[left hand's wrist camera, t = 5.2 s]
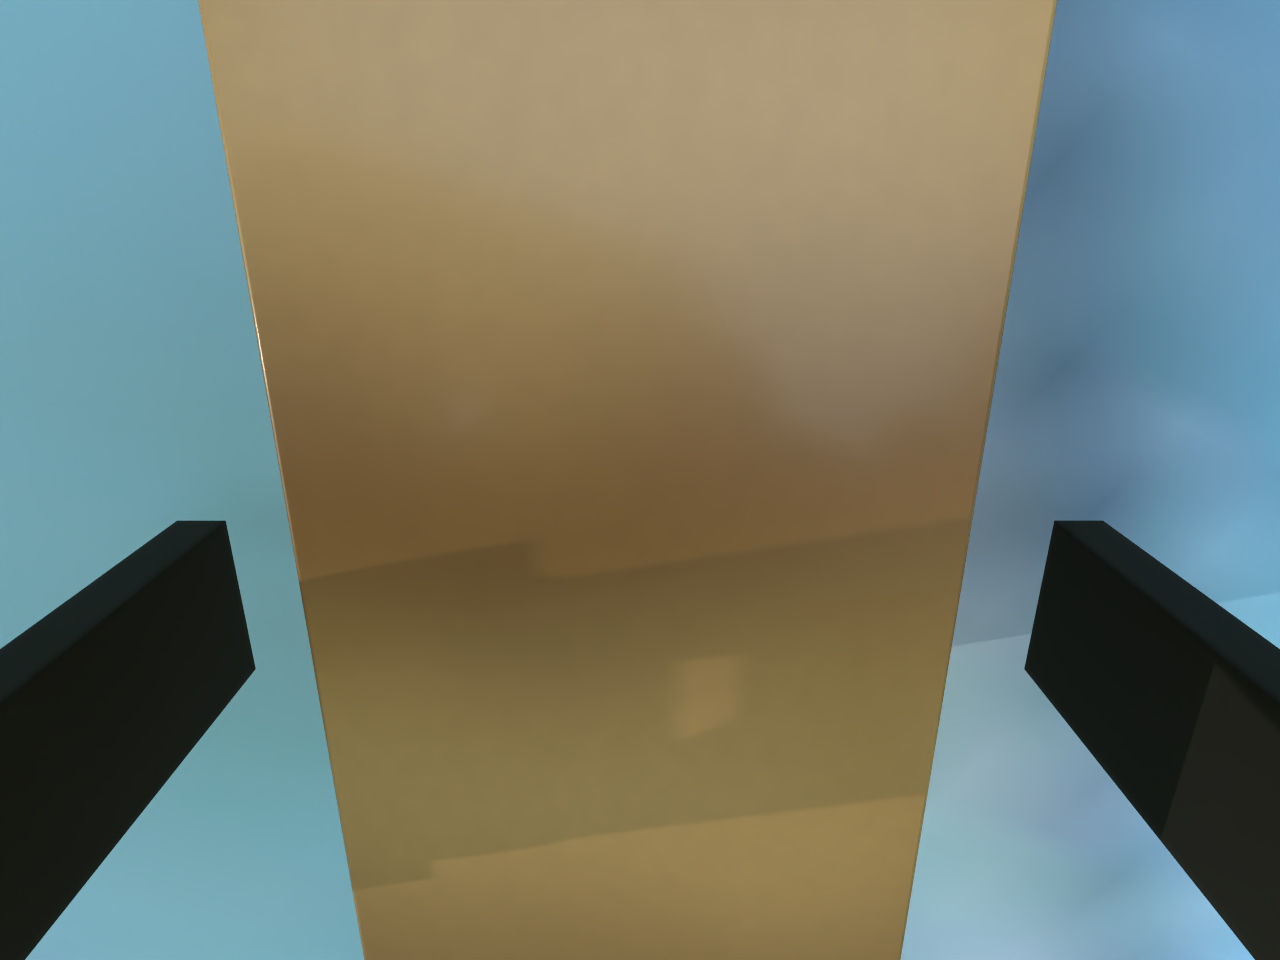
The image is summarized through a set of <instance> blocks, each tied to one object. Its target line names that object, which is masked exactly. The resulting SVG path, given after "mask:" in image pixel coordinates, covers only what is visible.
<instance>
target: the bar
mask: <svg viewBox="0 0 1280 960" xmlns="http://www.w3.org/2000/svg"><path fill="white" fill-rule="evenodd" d="M198 1H199V7H200V12H201V18H202V24H203V30H204V36H205V41H206V47H207V53H208V59H209V64H210V70H211V76H212V82H213V88H214V93H215V99H216V105H217V111H218V116H219V122H220V128H221V134H222V139H223V145H224V151H225V157H226V163H227V168H228V174H229V180H230V186H231V191H232V197H233V203H234V209H235V215H236V220H237V226H238V232H239V238H240V243H241V249H242V255H243V261H244V267H245V272H246V278H247V284H248V290H249V295H250V301H251V307H252V313H253V319H254V324H255V330H256V336H257V342H258V347H259V353H260V359H261V365H262V371H263V376H264V382H265V388H266V394H267V399H268V405H269V411H270V417H271V423H272V428H273V434H274V440H275V446H276V451H277V457H278V463H279V469H280V474H281V480H282V486H283V492H284V498H285V503H286V509H287V515H288V521H289V526H290V532H291V538H292V544H293V550H294V555H295V561H296V567H297V573H298V578H299V584H300V590H301V596H302V602H303V607H304V613H305V619H306V625H307V630H308V636H309V642H310V648H311V654H312V659H313V665H314V671H315V677H316V682H317V688H318V694H319V700H320V706H321V711H322V717H323V723H324V729H325V734H326V740H327V746H328V752H329V758H330V763H331V769H332V775H333V781H334V786H335V792H336V798H337V804H338V810H339V815H340V821H341V827H342V833H343V838H344V844H345V850H346V856H347V861H348V867H349V873H350V879H351V885H352V890H353V896H354V902H355V908H356V913H357V919H358V925H359V931H360V937H361V942H362V948H363V954H364V960H900V958H901V952H902V946H903V940H904V934H905V928H906V921H907V915H908V909H909V903H910V897H911V891H912V885H913V879H914V873H915V866H916V860H917V854H918V848H919V842H920V836H921V830H922V824H923V817H924V811H925V805H926V799H927V793H928V787H929V781H930V775H931V769H932V762H933V756H934V750H935V744H936V738H937V732H938V726H939V720H940V714H941V707H942V701H943V695H944V689H945V683H946V677H947V671H948V665H949V658H950V652H951V646H952V640H953V634H954V628H955V622H956V616H957V610H958V603H959V597H960V591H961V585H962V579H963V573H964V567H965V561H966V555H967V548H968V542H969V536H970V530H971V524H972V518H973V512H974V506H975V499H976V493H977V487H978V481H979V475H980V469H981V463H982V457H983V451H984V444H985V438H986V432H987V426H988V420H989V414H990V408H991V402H992V396H993V389H994V383H995V377H996V371H997V365H998V359H999V353H1000V347H1001V340H1002V334H1003V328H1004V322H1005V316H1006V310H1007V304H1008V298H1009V292H1010V285H1011V279H1012V273H1013V267H1014V261H1015V255H1016V249H1017V243H1018V237H1019V230H1020V224H1021V218H1022V212H1023V206H1024V200H1025V194H1026V188H1027V181H1028V175H1029V169H1030V163H1031V157H1032V151H1033V145H1034V139H1035V133H1036V126H1037V120H1038V114H1039V108H1040V102H1041V96H1042V90H1043V84H1044V78H1045V71H1046V65H1047V59H1048V53H1049V47H1050V41H1051V35H1052V29H1053V22H1054V16H1055V10H1056V4H1057V0H198Z"/></svg>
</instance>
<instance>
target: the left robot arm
mask: <svg viewBox="0 0 1280 960" xmlns="http://www.w3.org/2000/svg"><path fill="white" fill-rule="evenodd" d="M254 670H255V664H254V659H253V654H252V649H251V644H250V639H249V634H248V629H247V624H246V619H245V615H244V610H243V605H242V600H241V595H240V590H239V585H238V580H237V575H236V570H235V565H234V560H233V555H232V550H231V545H230V540H229V536H228V531H227V526H226V521H176V522H175V523H173V524H172V525H171V526H169V527H168V528H166V529H165V530H164V531H162V532H161V533H160V534H158V535H157V536H155V537H154V538H153V539H151V540H150V541H149V542H147V543H146V544H144V545H143V546H142V547H140V548H139V549H138V550H136V551H135V552H133V553H132V554H131V555H129V556H128V557H127V558H125V559H124V560H122V561H121V562H120V563H118V564H117V565H116V566H114V567H113V568H111V569H110V570H109V571H107V572H106V573H105V574H103V575H102V576H100V577H99V578H98V579H96V580H95V581H94V582H92V583H91V584H89V585H88V586H87V587H85V588H84V589H83V590H81V591H80V592H78V593H77V594H76V595H74V596H73V597H72V598H70V599H69V600H67V601H66V602H65V603H63V604H62V605H61V606H59V607H58V608H56V609H55V610H54V611H52V612H51V613H50V614H48V615H47V616H45V617H44V618H43V619H41V620H40V621H38V622H37V623H36V624H34V625H33V626H32V627H30V628H29V629H27V630H26V631H25V632H23V633H22V634H21V635H19V636H18V637H16V638H15V639H14V640H12V641H11V642H10V643H8V644H7V645H5V646H4V647H3V648H1V649H0V960H25V959H26V958H27V956H28V955H29V954H30V953H31V951H32V950H33V949H34V948H35V946H36V945H37V944H38V943H39V941H40V940H41V939H42V937H43V936H44V935H45V934H46V932H47V931H48V930H49V929H50V927H51V926H52V925H53V924H54V922H55V921H56V920H57V919H58V917H59V916H60V915H61V914H62V912H63V911H64V910H65V908H66V907H67V906H68V905H69V903H70V902H71V901H72V900H73V898H74V897H75V896H76V895H77V893H78V892H79V891H80V890H81V888H82V887H83V886H84V885H85V883H86V882H87V881H88V879H89V878H90V877H91V876H92V874H93V873H94V872H95V871H96V869H97V868H98V867H99V866H100V864H101V863H102V862H103V861H104V859H105V858H106V857H107V856H108V854H109V853H110V852H111V851H112V849H113V848H114V847H115V845H116V844H117V843H118V842H119V840H120V839H121V838H122V837H123V835H124V834H125V833H126V832H127V830H128V829H129V828H130V827H131V825H132V824H133V823H134V822H135V820H136V819H137V818H138V816H139V815H140V814H141V813H142V811H143V810H144V809H145V808H146V806H147V805H148V804H149V803H150V801H151V800H152V799H153V798H154V796H155V795H156V794H157V793H158V791H159V790H160V789H161V788H162V786H163V785H164V784H165V782H166V781H167V780H168V779H169V777H170V776H171V775H172V774H173V772H174V771H175V770H176V769H177V767H178V766H179V765H180V764H181V762H182V761H183V760H184V759H185V757H186V756H187V755H188V753H189V752H190V751H191V750H192V748H193V747H194V746H195V745H196V743H197V742H198V741H199V740H200V738H201V737H202V736H203V735H204V733H205V732H206V731H207V730H208V728H209V727H210V726H211V724H212V723H213V722H214V721H215V719H216V718H217V717H218V716H219V714H220V713H221V712H222V711H223V709H224V708H225V707H226V706H227V704H228V703H229V702H230V701H231V699H232V698H233V697H234V696H235V694H236V693H237V692H238V690H239V689H240V688H241V687H242V685H243V684H244V683H245V682H246V680H247V679H248V678H249V677H250V675H251V674H252V673H253V672H254ZM1025 670H1026V672H1027V673H1028V674H1029V675H1030V677H1031V678H1032V679H1033V680H1034V682H1035V683H1036V684H1037V685H1038V687H1039V688H1040V689H1041V690H1042V692H1043V693H1044V694H1045V696H1046V697H1047V698H1048V699H1049V701H1050V702H1051V703H1052V704H1053V706H1054V707H1055V708H1056V709H1057V711H1058V712H1059V713H1060V714H1061V716H1062V717H1063V718H1064V719H1065V721H1066V722H1067V723H1068V724H1069V726H1070V727H1071V728H1072V730H1073V731H1074V732H1075V733H1076V735H1077V736H1078V737H1079V738H1080V740H1081V741H1082V742H1083V743H1084V745H1085V746H1086V747H1087V748H1088V750H1089V751H1090V752H1091V753H1092V755H1093V756H1094V757H1095V759H1096V760H1097V761H1098V762H1099V764H1100V765H1101V766H1102V767H1103V769H1104V770H1105V771H1106V772H1107V774H1108V775H1109V776H1110V777H1111V779H1112V780H1113V781H1114V782H1115V784H1116V785H1117V786H1118V788H1119V789H1120V790H1121V791H1122V793H1123V794H1124V795H1125V796H1126V798H1127V799H1128V800H1129V801H1130V803H1131V804H1132V805H1133V806H1134V808H1135V809H1136V810H1137V811H1138V813H1139V814H1140V815H1141V816H1142V818H1143V819H1144V820H1145V822H1146V823H1147V824H1148V825H1149V827H1150V828H1151V829H1152V830H1153V832H1154V833H1155V834H1156V835H1157V837H1158V838H1159V839H1160V840H1161V842H1162V843H1163V844H1164V845H1165V847H1166V848H1167V849H1168V851H1169V852H1170V853H1171V854H1172V856H1173V857H1174V858H1175V859H1176V861H1177V862H1178V863H1179V864H1180V866H1181V867H1182V868H1183V869H1184V871H1185V872H1186V873H1187V874H1188V876H1189V877H1190V878H1191V879H1192V881H1193V882H1194V883H1195V885H1196V886H1197V887H1198V888H1199V890H1200V891H1201V892H1202V893H1203V895H1204V896H1205V897H1206V898H1207V900H1208V901H1209V902H1210V903H1211V905H1212V906H1213V907H1214V908H1215V910H1216V911H1217V912H1218V914H1219V915H1220V916H1221V917H1222V919H1223V920H1224V921H1225V922H1226V924H1227V925H1228V926H1229V927H1230V929H1231V930H1232V931H1233V932H1234V934H1235V935H1236V936H1237V937H1238V939H1239V940H1240V941H1241V943H1242V944H1243V945H1244V946H1245V948H1246V949H1247V950H1248V951H1249V953H1250V954H1251V955H1252V956H1253V958H1254V959H1255V960H1280V649H1279V648H1277V647H1276V646H1275V645H1273V644H1272V643H1270V642H1269V641H1268V640H1266V639H1265V638H1264V637H1262V636H1261V635H1259V634H1258V633H1257V632H1255V631H1254V630H1253V629H1251V628H1250V627H1248V626H1247V625H1246V624H1244V623H1243V622H1242V621H1240V620H1239V619H1237V618H1236V617H1235V616H1233V615H1232V614H1231V613H1229V612H1228V611H1226V610H1225V609H1224V608H1222V607H1221V606H1219V605H1218V604H1217V603H1215V602H1214V601H1213V600H1211V599H1210V598H1208V597H1207V596H1206V595H1204V594H1203V593H1202V592H1200V591H1199V590H1197V589H1196V588H1195V587H1193V586H1192V585H1191V584H1189V583H1188V582H1186V581H1185V580H1184V579H1182V578H1181V577H1180V576H1178V575H1177V574H1175V573H1174V572H1173V571H1171V570H1170V569H1169V568H1167V567H1166V566H1164V565H1163V564H1162V563H1160V562H1159V561H1158V560H1156V559H1155V558H1153V557H1152V556H1151V555H1149V554H1148V553H1147V552H1145V551H1144V550H1142V549H1141V548H1140V547H1138V546H1137V545H1136V544H1134V543H1133V542H1131V541H1130V540H1129V539H1127V538H1126V537H1125V536H1123V535H1122V534H1120V533H1119V532H1118V531H1116V530H1115V529H1114V528H1112V527H1111V526H1109V525H1108V524H1107V523H1105V522H1104V521H1054V526H1053V531H1052V536H1051V540H1050V545H1049V550H1048V555H1047V560H1046V565H1045V570H1044V575H1043V580H1042V585H1041V590H1040V595H1039V600H1038V605H1037V610H1036V615H1035V619H1034V624H1033V629H1032V634H1031V639H1030V644H1029V649H1028V654H1027V659H1026V664H1025Z"/></svg>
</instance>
